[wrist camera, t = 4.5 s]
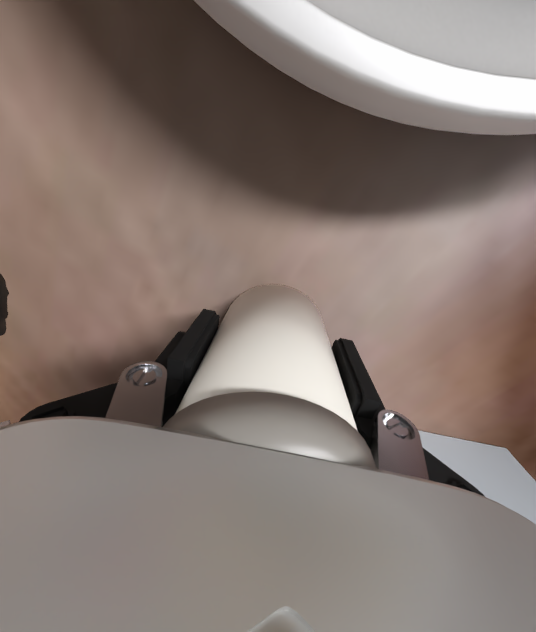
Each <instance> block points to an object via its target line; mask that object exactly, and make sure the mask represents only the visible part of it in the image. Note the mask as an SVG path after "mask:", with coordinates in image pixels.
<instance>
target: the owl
mask: <svg viewBox="0 0 536 632" xmlns="http://www.w3.org/2000/svg"><path fill="white" fill-rule="evenodd" d="M8 294H9V292H8V290H7V288H6V284H5V280H4V278H3V277H2V275H1V274H0V336H1V335H3V334H4V333H5V331H6V323H5V319H6V318H7V315H8V312H7V296H8Z"/></svg>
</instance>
